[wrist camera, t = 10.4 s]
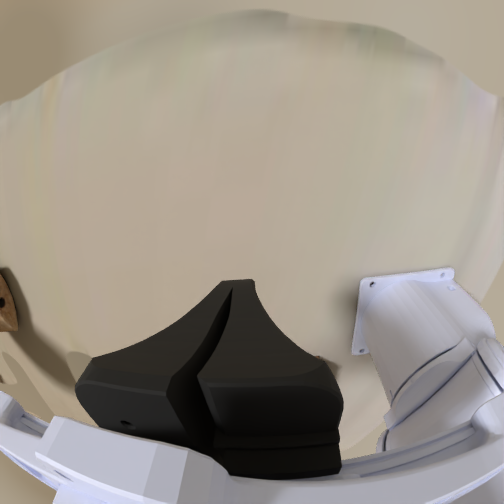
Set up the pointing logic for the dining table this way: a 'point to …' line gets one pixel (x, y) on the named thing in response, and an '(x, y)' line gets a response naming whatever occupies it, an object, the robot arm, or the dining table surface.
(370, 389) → the dining table surface
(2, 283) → the stone cup
